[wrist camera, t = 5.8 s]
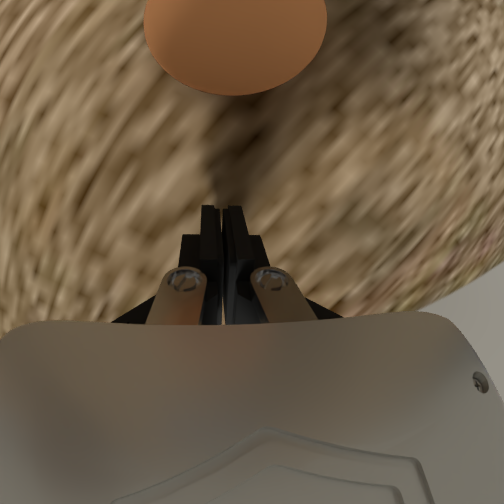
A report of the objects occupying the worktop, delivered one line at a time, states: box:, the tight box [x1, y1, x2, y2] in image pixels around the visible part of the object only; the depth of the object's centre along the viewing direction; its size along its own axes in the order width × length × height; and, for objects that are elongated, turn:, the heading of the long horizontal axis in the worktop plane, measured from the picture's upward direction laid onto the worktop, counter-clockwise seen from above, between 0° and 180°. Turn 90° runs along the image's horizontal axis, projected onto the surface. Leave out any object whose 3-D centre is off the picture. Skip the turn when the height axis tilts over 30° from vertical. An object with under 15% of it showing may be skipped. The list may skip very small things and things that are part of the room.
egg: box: [144, 0, 327, 96], centre depth 6 cm, size 6×6×6 cm
